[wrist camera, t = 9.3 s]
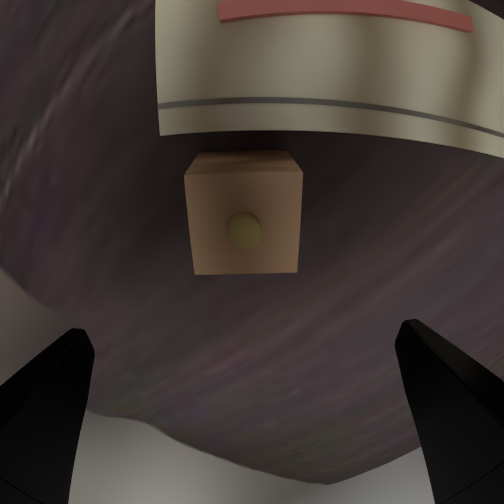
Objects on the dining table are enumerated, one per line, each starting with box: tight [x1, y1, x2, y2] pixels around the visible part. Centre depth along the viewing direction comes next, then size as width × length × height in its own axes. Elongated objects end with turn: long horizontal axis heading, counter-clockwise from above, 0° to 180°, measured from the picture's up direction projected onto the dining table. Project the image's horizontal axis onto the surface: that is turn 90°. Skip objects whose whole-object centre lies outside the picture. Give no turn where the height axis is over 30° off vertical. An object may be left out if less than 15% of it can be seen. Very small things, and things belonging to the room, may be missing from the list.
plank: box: [155, 0, 504, 158], centre depth 13 cm, size 22×10×2 cm, turn 91°
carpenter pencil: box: [217, 0, 474, 33], centre depth 10 cm, size 14×1×1 cm, turn 99°
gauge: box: [184, 150, 303, 275], centre depth 16 cm, size 5×5×6 cm
